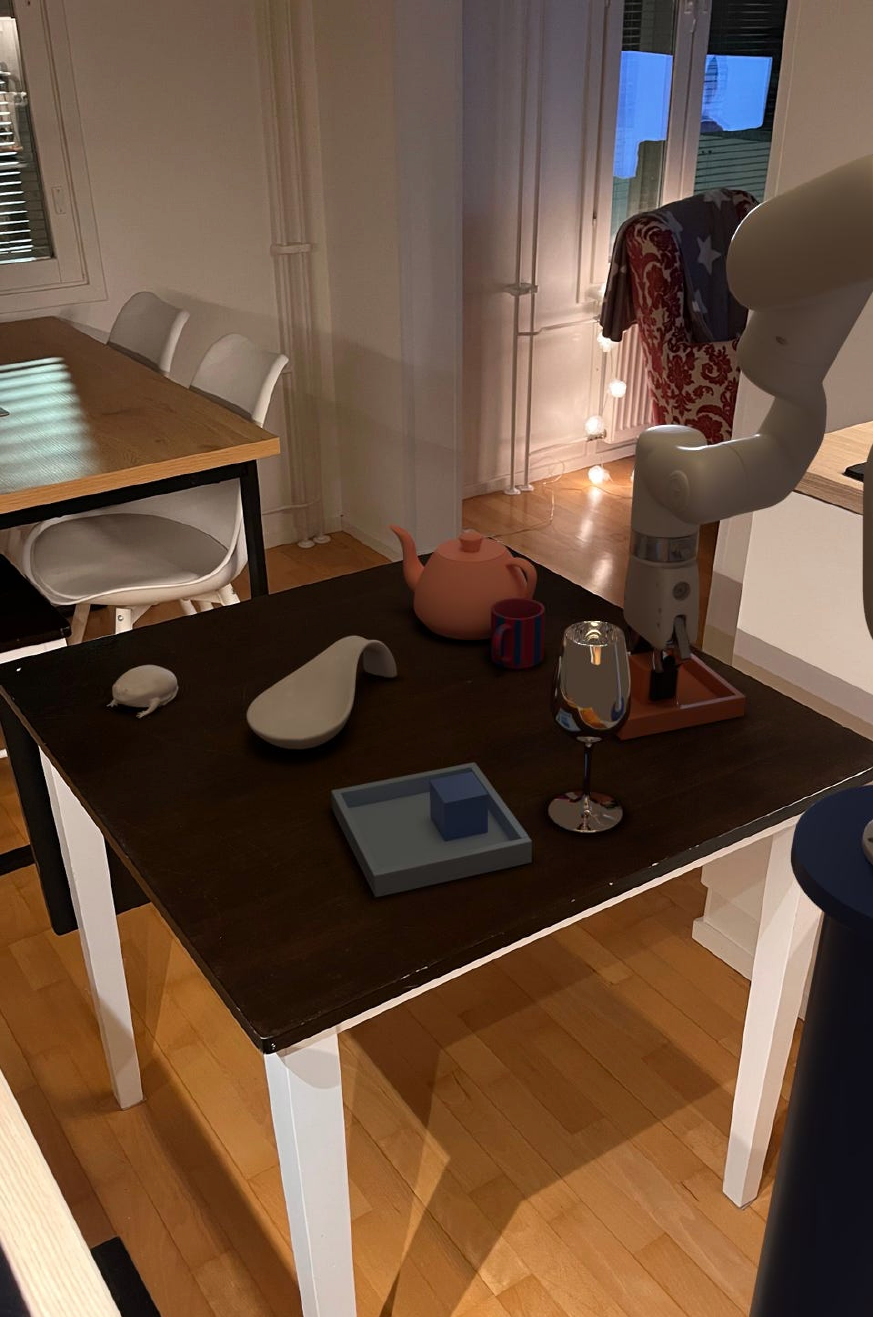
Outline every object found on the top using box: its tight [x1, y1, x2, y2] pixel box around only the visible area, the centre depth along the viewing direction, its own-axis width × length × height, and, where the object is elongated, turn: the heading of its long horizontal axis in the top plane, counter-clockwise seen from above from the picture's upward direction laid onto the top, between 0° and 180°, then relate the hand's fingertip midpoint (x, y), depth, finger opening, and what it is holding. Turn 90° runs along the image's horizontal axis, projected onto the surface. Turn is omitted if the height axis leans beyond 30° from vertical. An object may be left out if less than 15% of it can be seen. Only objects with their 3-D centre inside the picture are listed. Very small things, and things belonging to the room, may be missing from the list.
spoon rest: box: [246, 635, 398, 750], centre depth 137 cm, size 24×12×7 cm, turn 152°
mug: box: [490, 598, 546, 670], centre depth 148 cm, size 7×10×7 cm
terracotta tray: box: [615, 649, 747, 741], centre depth 140 cm, size 16×16×2 cm
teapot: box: [389, 524, 538, 641], centre depth 158 cm, size 22×16×12 cm
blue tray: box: [330, 762, 533, 898], centre depth 117 cm, size 16×16×2 cm
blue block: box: [429, 772, 488, 841], centre depth 117 cm, size 4×4×4 cm
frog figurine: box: [106, 664, 179, 719], centre depth 143 cm, size 8×7×4 cm
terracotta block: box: [628, 651, 679, 705], centre depth 140 cm, size 4×4×4 cm
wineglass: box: [547, 620, 632, 834], centre depth 115 cm, size 8×8×20 cm
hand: (651, 687), depth 140 cm, fingers closed on terracotta block, 4 cm apart
